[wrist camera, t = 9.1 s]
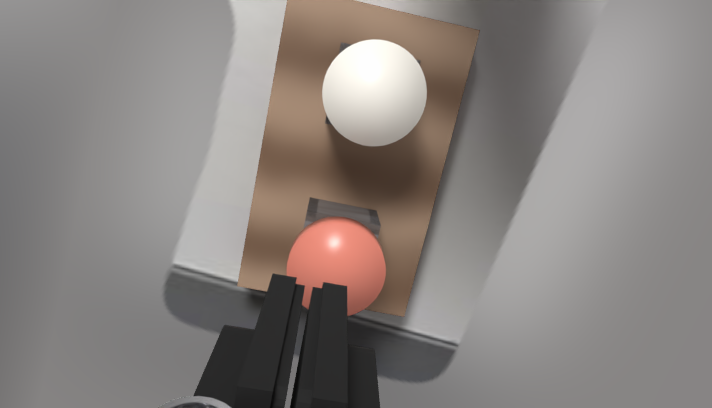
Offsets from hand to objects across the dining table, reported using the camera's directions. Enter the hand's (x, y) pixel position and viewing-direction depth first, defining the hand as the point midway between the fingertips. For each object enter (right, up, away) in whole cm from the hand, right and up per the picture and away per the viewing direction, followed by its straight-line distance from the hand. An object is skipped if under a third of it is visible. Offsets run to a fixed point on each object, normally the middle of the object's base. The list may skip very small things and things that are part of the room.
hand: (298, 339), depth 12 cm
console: (+1, +6, +26) cm, 27 cm away
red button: (0, 0, +23) cm, 23 cm away
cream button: (+2, +10, +21) cm, 24 cm away
